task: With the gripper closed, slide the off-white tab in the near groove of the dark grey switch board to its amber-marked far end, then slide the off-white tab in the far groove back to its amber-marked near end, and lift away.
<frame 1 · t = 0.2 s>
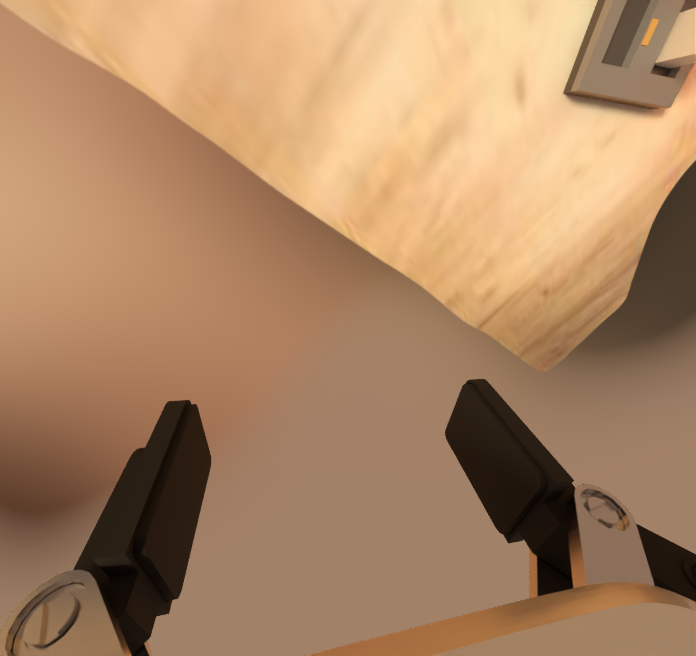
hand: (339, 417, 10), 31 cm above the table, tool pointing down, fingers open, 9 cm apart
tab b: (695, 36, 30), point 3 cm above the table, slide at 3.5 cm
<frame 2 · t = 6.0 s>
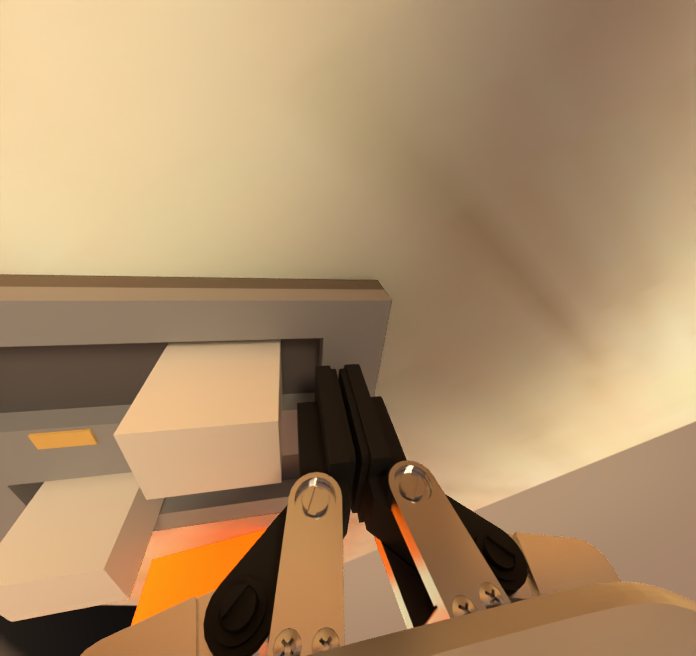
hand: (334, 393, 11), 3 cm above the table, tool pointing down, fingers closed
tab a: (222, 406, 10), point 3 cm above the table, slide at -2.8 cm, touching gripper
orange juice: (230, 559, 23), on the table
tab b: (89, 531, 12), point 3 cm above the table, slide at 3.5 cm
switch board: (183, 410, 14), on the table
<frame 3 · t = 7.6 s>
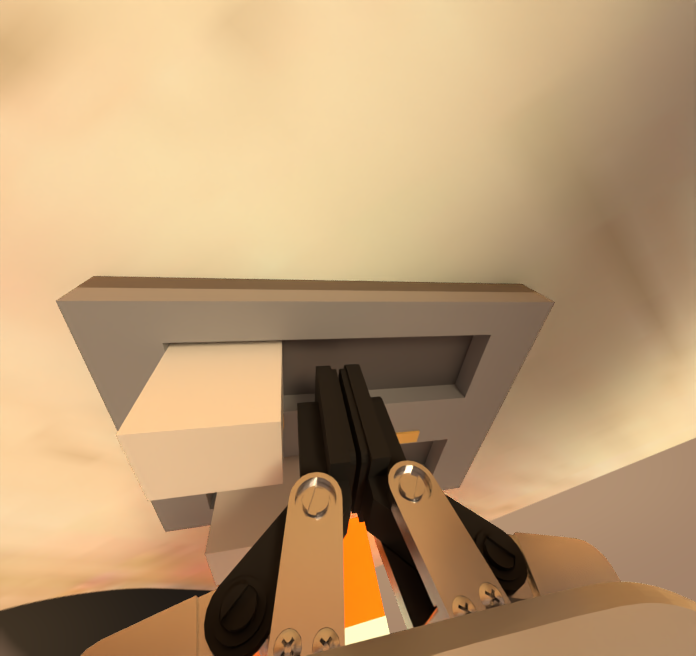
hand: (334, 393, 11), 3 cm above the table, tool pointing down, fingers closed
tab a: (224, 407, 10), point 3 cm above the table, slide at 4.5 cm, touching gripper, switch board
orange juice: (318, 546, 25), on the table
tab b: (264, 508, 14), point 3 cm above the table, slide at 3.5 cm
switch board: (331, 400, 16), on the table
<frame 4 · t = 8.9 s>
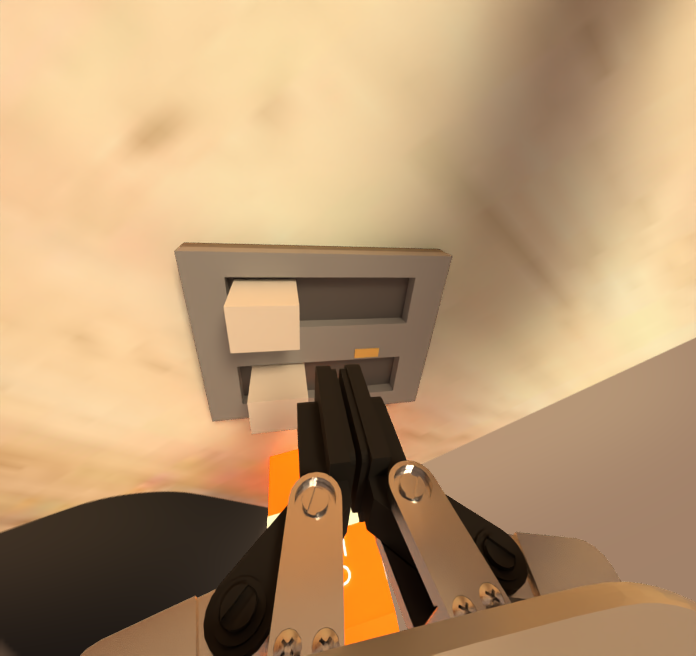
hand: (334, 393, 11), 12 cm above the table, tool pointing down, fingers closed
tab a: (265, 313, 18), point 3 cm above the table, slide at 4.1 cm
orange juice: (316, 464, 32), on the table
tab b: (279, 394, 22), point 3 cm above the table, slide at 3.5 cm
switch board: (320, 331, 24), on the table
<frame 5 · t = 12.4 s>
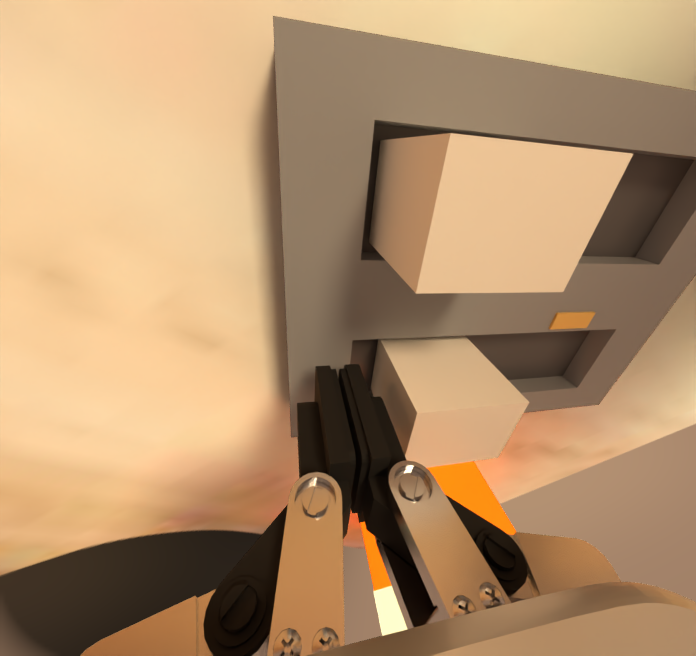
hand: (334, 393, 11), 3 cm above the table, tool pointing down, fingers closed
tab a: (464, 210, 8), point 3 cm above the table, slide at 4.1 cm
orange juice: (410, 489, 23), on the table
tab b: (435, 393, 12), point 3 cm above the table, slide at 3.1 cm, touching gripper
switch board: (483, 281, 13), on the table
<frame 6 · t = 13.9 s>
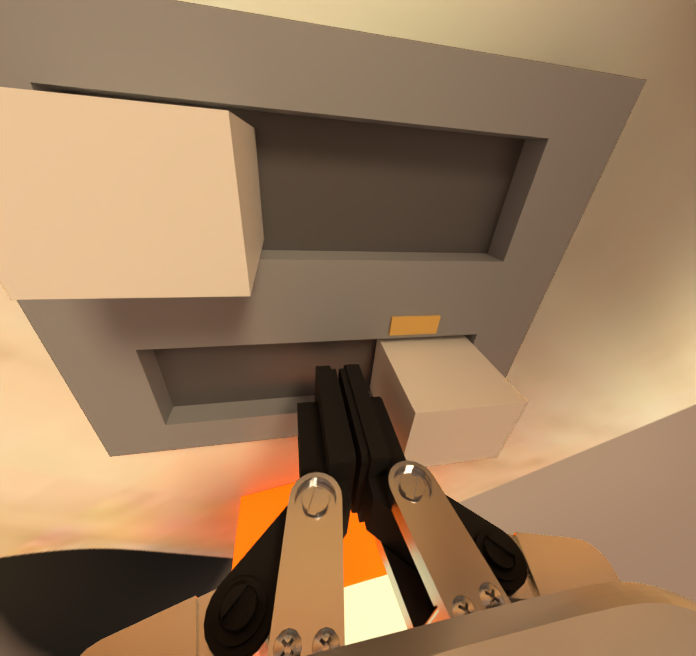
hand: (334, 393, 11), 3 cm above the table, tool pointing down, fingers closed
tab a: (159, 195, 6), point 3 cm above the table, slide at 4.1 cm
orange juice: (316, 503, 21), on the table
tab b: (434, 393, 12), point 3 cm above the table, slide at -4.3 cm, touching gripper
switch board: (321, 282, 12), on the table
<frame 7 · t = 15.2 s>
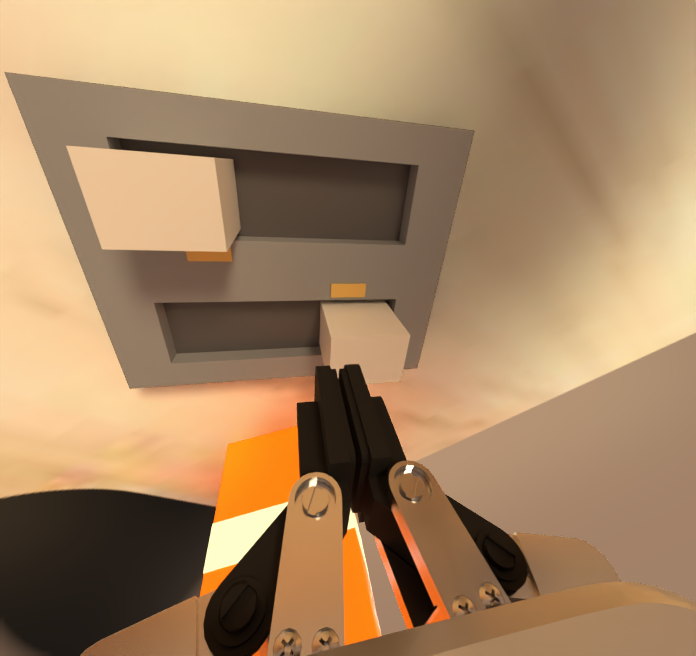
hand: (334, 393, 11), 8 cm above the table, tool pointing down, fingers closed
tab a: (176, 198, 11), point 3 cm above the table, slide at 4.1 cm
orange juice: (292, 455, 26), on the table
tab b: (358, 339, 16), point 3 cm above the table, slide at -4.1 cm
switch board: (284, 261, 17), on the table
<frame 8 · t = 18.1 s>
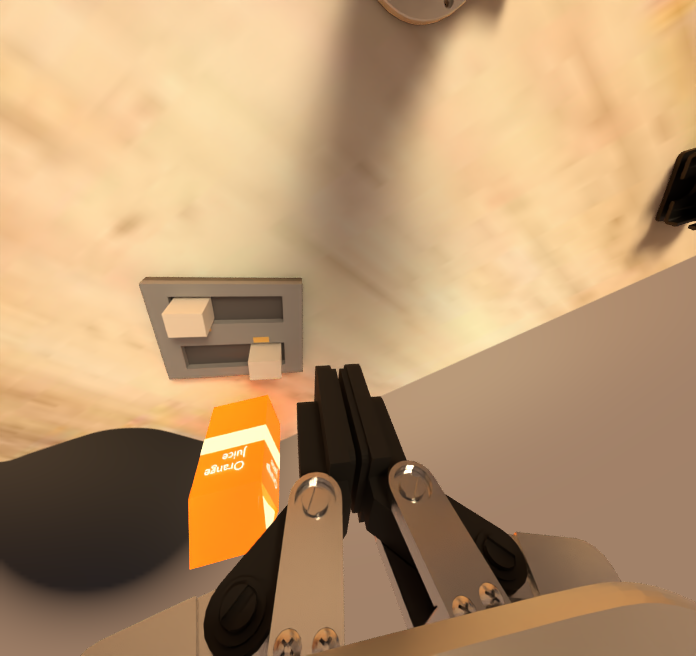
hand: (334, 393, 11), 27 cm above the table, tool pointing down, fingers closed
tab a: (190, 316, 33), point 3 cm above the table, slide at 4.1 cm
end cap: (686, 182, 40), on the table
orange juice: (248, 415, 48), on the table
tab b: (266, 360, 38), point 3 cm above the table, slide at -4.1 cm
switch board: (234, 326, 39), on the table
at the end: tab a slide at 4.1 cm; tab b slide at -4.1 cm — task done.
